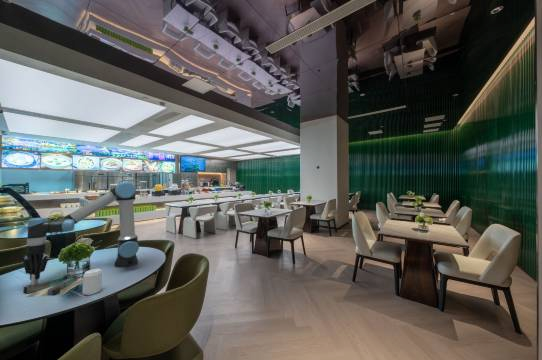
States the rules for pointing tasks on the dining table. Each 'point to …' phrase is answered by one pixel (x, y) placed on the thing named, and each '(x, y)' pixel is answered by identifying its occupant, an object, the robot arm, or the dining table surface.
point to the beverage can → (92, 281)
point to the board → (44, 291)
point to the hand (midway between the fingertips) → (34, 284)
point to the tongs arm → (46, 284)
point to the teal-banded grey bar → (62, 285)
